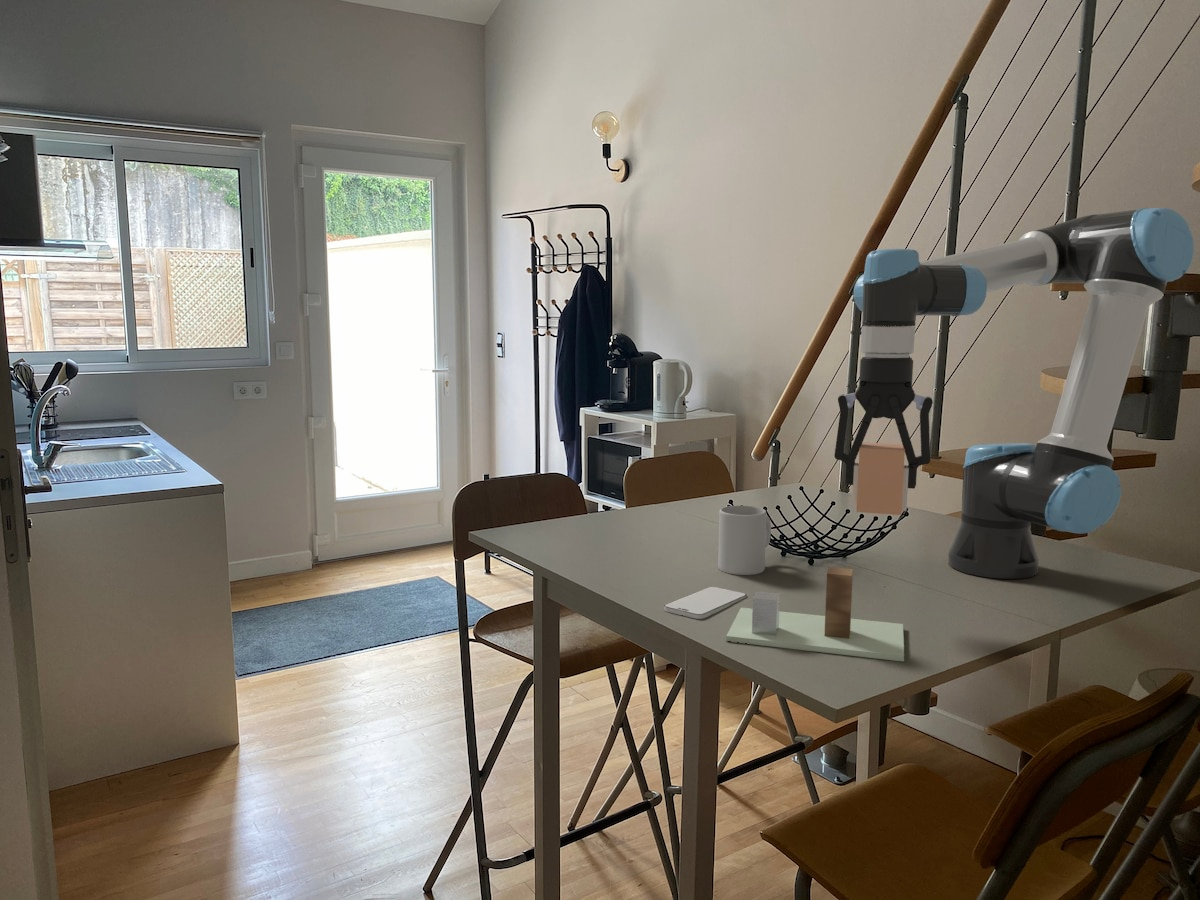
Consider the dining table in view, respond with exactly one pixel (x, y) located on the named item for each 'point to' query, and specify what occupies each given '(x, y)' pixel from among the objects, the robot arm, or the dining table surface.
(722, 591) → the smartphone
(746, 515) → the mug
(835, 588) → the walnut post
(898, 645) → the board
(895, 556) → the dining table surface
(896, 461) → the peach rectangular block
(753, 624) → the grey post
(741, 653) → the dining table surface
